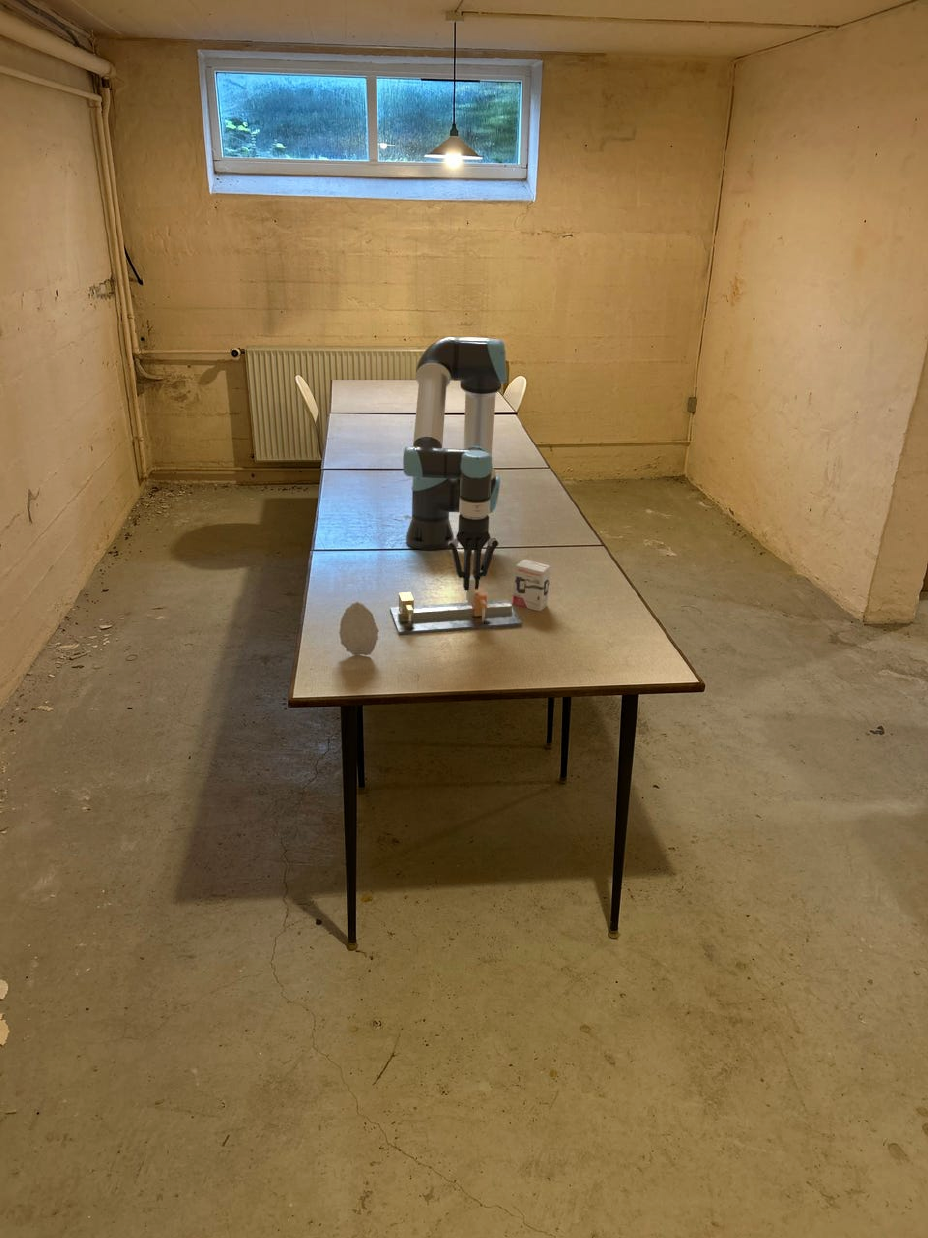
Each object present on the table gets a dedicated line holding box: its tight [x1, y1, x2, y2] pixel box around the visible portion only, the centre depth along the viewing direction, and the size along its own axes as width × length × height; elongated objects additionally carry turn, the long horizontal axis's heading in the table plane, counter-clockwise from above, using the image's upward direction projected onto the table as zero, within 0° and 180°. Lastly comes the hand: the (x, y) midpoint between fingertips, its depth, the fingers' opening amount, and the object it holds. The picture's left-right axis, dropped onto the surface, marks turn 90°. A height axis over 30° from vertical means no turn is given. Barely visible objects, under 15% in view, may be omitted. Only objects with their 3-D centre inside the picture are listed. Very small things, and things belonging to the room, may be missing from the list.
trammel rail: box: [398, 591, 513, 628], centre depth 218 cm, size 9×30×6 cm, turn 103°
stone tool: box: [338, 601, 379, 656], centre depth 198 cm, size 9×3×15 cm, turn 93°
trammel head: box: [471, 586, 488, 622], centre depth 219 cm, size 9×3×6 cm, turn 13°
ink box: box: [512, 559, 552, 612], centre depth 228 cm, size 8×5×12 cm, turn 60°
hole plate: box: [389, 599, 523, 636], centre depth 221 cm, size 14×32×1 cm, turn 103°
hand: (470, 600), depth 220 cm, fingers closed
